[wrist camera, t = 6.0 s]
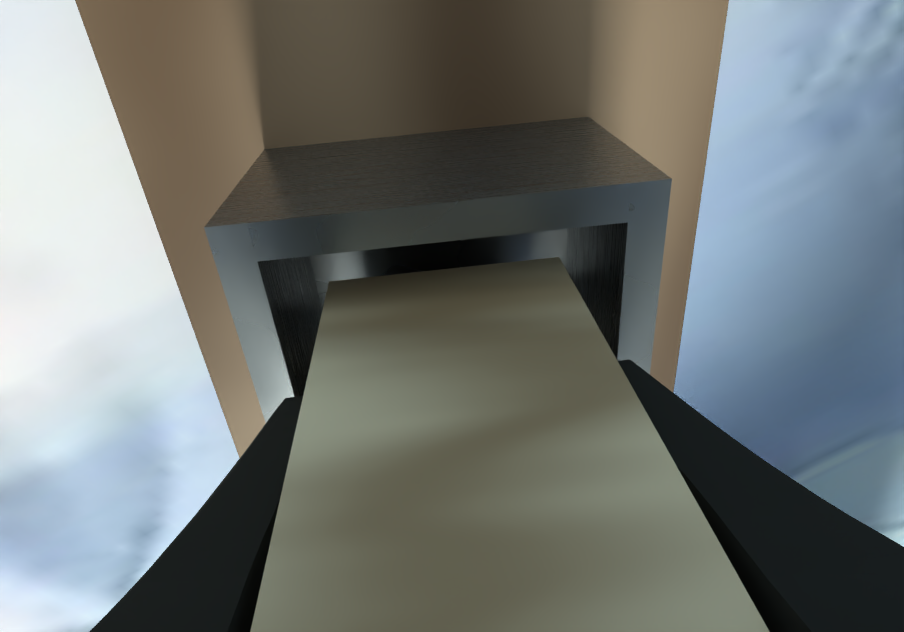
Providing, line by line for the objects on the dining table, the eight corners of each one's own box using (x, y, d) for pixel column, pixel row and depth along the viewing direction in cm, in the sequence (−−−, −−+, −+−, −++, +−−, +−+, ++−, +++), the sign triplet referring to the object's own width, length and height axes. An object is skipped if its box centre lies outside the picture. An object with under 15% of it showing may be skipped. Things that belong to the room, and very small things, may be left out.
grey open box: (588, 116, 12) (671, 179, 8) (578, 377, 16) (635, 503, 12) (264, 149, 12) (204, 227, 8) (326, 405, 15) (303, 542, 12)
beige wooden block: (559, 256, 10) (892, 852, 3) (555, 430, 12) (759, 1022, 5) (328, 281, 10) (179, 952, 3) (365, 452, 12) (320, 1086, 5)
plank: (712, -104, 11) (744, -112, 10) (629, 594, 23) (640, 624, 22) (89, -47, 11) (57, -50, 10) (317, 632, 22) (314, 664, 21)
